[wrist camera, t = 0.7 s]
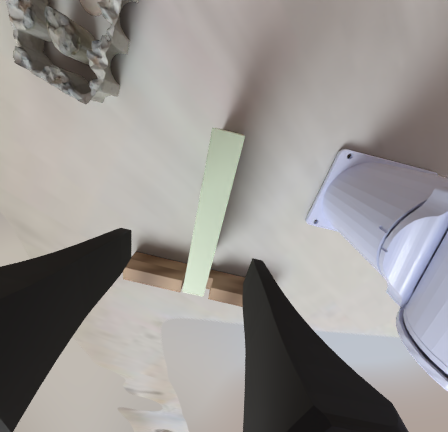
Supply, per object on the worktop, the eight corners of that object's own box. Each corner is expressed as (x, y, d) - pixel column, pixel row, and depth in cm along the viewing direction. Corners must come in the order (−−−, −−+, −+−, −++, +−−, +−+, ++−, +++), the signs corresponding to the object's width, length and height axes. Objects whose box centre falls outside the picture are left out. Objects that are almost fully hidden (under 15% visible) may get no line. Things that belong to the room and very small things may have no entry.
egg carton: (56, -105, 12) (-25, -212, 8) (158, -25, 13) (127, -86, 10) (37, 66, 16) (-22, 47, 12) (116, 116, 17) (83, 111, 14)
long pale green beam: (222, 129, 17) (212, 127, 11) (243, 134, 17) (245, 136, 11) (198, 247, 23) (182, 291, 17) (213, 251, 23) (203, 296, 17)
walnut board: (265, 282, 24) (269, 301, 22) (261, 292, 25) (263, 311, 23) (136, 251, 24) (123, 266, 21) (135, 263, 25) (123, 279, 22)
